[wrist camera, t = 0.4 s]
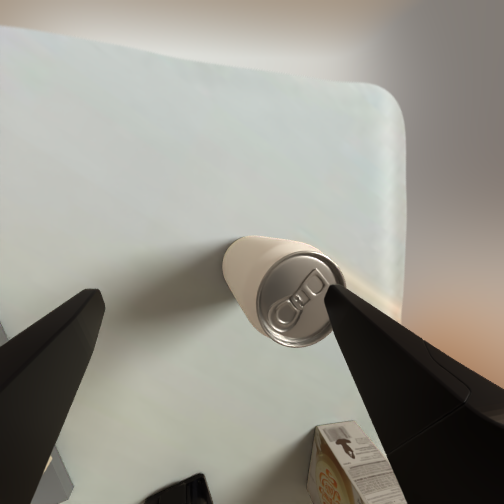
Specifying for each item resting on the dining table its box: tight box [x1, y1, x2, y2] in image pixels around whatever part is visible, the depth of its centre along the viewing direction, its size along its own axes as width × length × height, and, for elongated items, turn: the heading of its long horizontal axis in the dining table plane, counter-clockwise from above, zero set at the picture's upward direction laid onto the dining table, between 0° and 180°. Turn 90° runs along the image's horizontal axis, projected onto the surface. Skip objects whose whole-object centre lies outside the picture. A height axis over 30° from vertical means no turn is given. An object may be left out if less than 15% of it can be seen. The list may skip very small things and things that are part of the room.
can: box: [222, 236, 346, 348], centre depth 18 cm, size 6×6×12 cm
